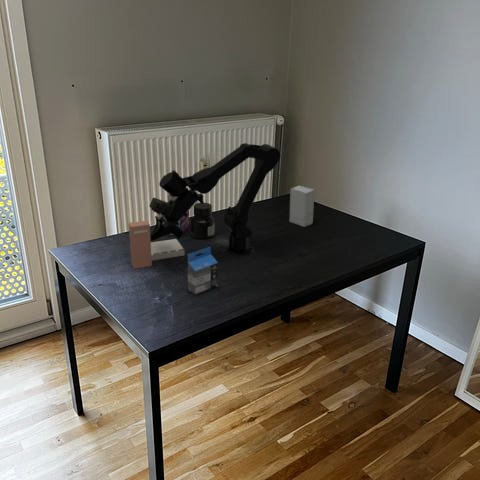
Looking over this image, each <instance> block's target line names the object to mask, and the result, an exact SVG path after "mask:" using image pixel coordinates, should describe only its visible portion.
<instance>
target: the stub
mask: <svg viewBox="0 0 480 480" xmlns="http://www.w3.org/2000/svg"><path fill="white" fill-rule="evenodd" d="M150 225H151V224H150V223H149V221H148V220H143V221H142V220H141V221H133V222H128V232H129V233H128V234H129V242H130V243H129V246H130V260H131V266H132V267H133V270H135V269H142V268H143V269H144V268H146V267H153V261H152V257H151V243H152V241H151V239H150V235H151V226H150Z"/></svg>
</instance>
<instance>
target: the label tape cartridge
mask: <svg viewBox="0 0 480 480" xmlns="http://www.w3.org/2000/svg"><path fill="white" fill-rule="evenodd" d="M211 249H212V247H211V246H208V247H205V248H201V249H199V250H196V251H193V252H190V253H187V291H189V292H190V293H192V294H193V295H198V294H201V293H203V292H205V291H209V290H211V289H213V288H215V287H218V286H219V282H218V281H219V277H218V276H219V262H218V261H217V260H216V258H215V257H214V255H212V252H211ZM199 254H200V255H199Z"/></svg>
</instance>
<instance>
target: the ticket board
mask: <svg viewBox="0 0 480 480" xmlns="http://www.w3.org/2000/svg"><path fill="white" fill-rule="evenodd" d="M185 255H186V254H185V249H184V247H183V245H181V243H180V242H179V240H178V238H173V239H168V240H167V239H166V240H160V241H151V257H152V262H153V261H157V260H163V259H170V258H177V257H182V256H185Z"/></svg>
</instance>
